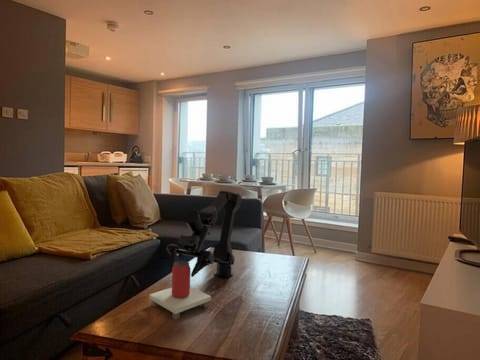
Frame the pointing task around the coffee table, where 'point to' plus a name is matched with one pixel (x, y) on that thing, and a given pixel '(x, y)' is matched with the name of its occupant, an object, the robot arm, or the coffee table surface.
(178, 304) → the white square platform
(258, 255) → the coffee table surface
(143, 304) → the coffee table surface
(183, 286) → the beer can
